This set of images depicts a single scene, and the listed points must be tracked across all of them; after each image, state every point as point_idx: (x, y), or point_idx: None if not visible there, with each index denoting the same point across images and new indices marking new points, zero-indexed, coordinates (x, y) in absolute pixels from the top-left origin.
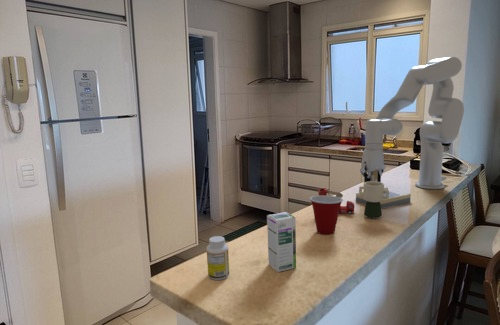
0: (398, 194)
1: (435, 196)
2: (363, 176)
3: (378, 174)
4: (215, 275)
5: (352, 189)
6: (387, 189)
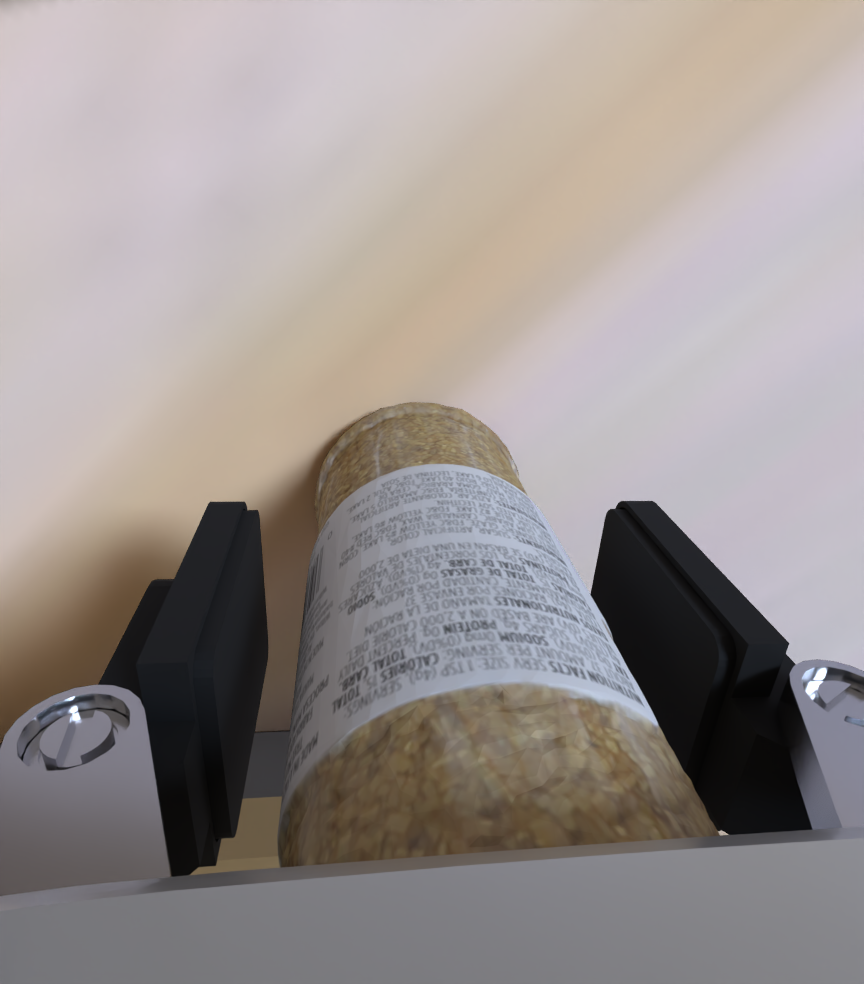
0: None
1: None
2: (26, 719)
3: (736, 819)
4: None
5: (162, 28)
6: None
